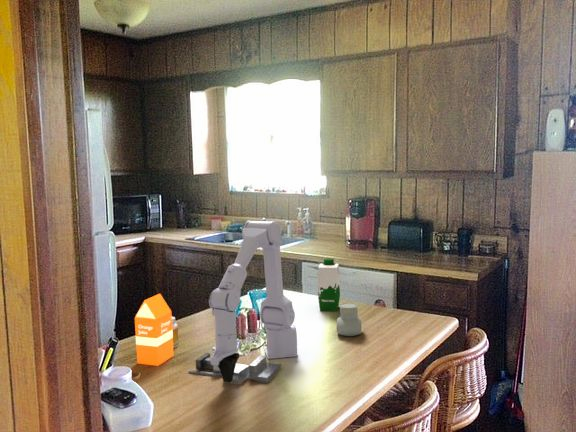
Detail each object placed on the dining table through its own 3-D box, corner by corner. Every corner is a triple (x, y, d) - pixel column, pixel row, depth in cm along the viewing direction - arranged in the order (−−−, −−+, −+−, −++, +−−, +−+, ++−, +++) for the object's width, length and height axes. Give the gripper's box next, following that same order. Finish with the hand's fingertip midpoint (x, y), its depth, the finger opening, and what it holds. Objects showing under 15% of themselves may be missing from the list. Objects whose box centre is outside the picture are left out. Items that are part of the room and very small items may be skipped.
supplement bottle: (180, 343, 182) (178, 315, 181) (177, 348, 176) (175, 320, 175) (164, 343, 182) (162, 315, 181) (160, 349, 176) (159, 320, 175)
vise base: (280, 369, 157) (280, 356, 156) (267, 382, 147) (267, 368, 147) (205, 360, 165) (204, 347, 165) (188, 372, 156) (187, 359, 156)
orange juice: (136, 363, 165) (133, 299, 163) (153, 353, 173) (149, 292, 171) (158, 366, 162) (154, 301, 160) (174, 355, 170) (171, 294, 168)
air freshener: (338, 328, 192) (337, 301, 191) (361, 329, 191) (361, 301, 190) (336, 338, 182) (335, 310, 181) (360, 339, 180) (360, 310, 179)
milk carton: (340, 305, 222) (340, 258, 220) (339, 312, 213) (338, 262, 211) (319, 305, 223) (318, 258, 221) (317, 311, 214) (316, 262, 212)
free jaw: (230, 365, 161) (230, 352, 160) (219, 374, 154) (219, 360, 154) (206, 362, 163) (206, 349, 163) (195, 371, 157) (194, 357, 156)
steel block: (249, 377, 152) (249, 365, 152) (238, 385, 147) (237, 373, 147) (234, 374, 154) (234, 362, 154) (223, 382, 149) (222, 370, 149)
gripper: (224, 323, 152) (226, 369, 154) (199, 340, 139) (201, 390, 140) (247, 325, 150) (249, 372, 151) (223, 342, 136) (225, 393, 138)
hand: (227, 381), depth 146 cm, fingers closed
